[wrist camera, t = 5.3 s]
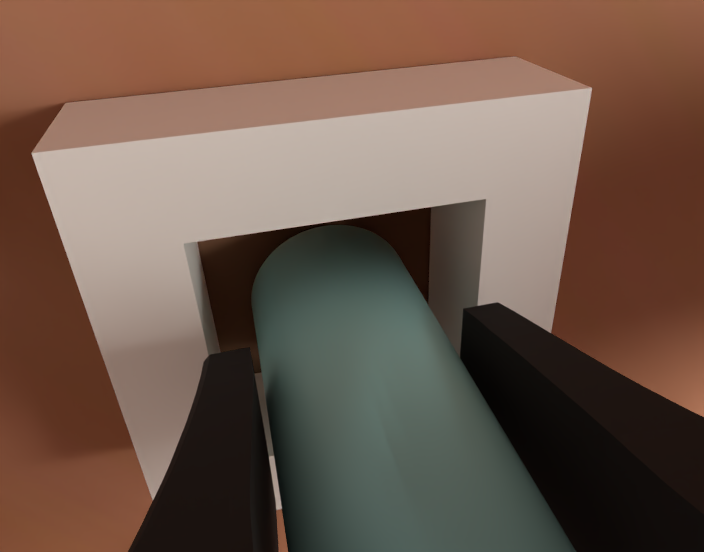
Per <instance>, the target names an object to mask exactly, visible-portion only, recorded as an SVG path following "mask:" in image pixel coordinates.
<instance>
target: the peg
mask: <svg viewBox="0 0 704 552" xmlns="http://www.w3.org/2000/svg"><path fill="white" fill-rule="evenodd" d="M251 304H252V311H253V318H254V324H255V331H256V338H257V345H258V351H259V358H260V365H261V371H262V378H263V385H264V392H265V398H266V405H267V412H268V418H269V425H270V432H271V439H272V445H273V452H274V459H275V465H276V472H277V479H278V486H279V492H280V499H281V506H282V512H283V519H284V526H285V533H286V539H287V546H288V552H576V551H575V549H574V547H573V546H572V544H571V542H570V541H569V539H568V537H567V536H566V534H565V532H564V531H563V529H562V527H561V526H560V524H559V522H558V521H557V519H556V517H555V516H554V514H553V512H552V511H551V509H550V507H549V506H548V504H547V502H546V501H545V499H544V497H543V496H542V494H541V492H540V491H539V489H538V487H537V486H536V484H535V482H534V481H533V479H532V477H531V476H530V474H529V472H528V471H527V469H526V467H525V466H524V464H523V462H522V461H521V459H520V457H519V456H518V454H517V452H516V451H515V449H514V447H513V446H512V444H511V442H510V441H509V439H508V437H507V436H506V434H505V432H504V431H503V429H502V427H501V426H500V424H499V422H498V421H497V419H496V417H495V416H494V414H493V412H492V411H491V409H490V407H489V406H488V404H487V402H486V401H485V399H484V397H483V396H482V394H481V392H480V391H479V389H478V387H477V386H476V384H475V382H474V380H473V379H472V377H471V375H470V374H469V372H468V370H467V369H466V367H465V365H464V364H463V362H462V360H461V359H460V357H459V355H458V354H457V352H456V350H455V349H454V347H453V345H452V344H451V342H450V340H449V339H448V337H447V335H446V334H445V332H444V330H443V329H442V327H441V325H440V324H439V322H438V320H437V319H436V317H435V315H434V314H433V312H432V310H431V309H430V307H429V305H428V304H427V302H426V300H425V299H424V297H423V295H422V294H421V292H420V290H419V289H418V287H417V285H416V284H415V282H414V280H413V279H412V277H411V275H410V274H409V272H408V270H407V269H406V267H405V265H404V264H403V262H402V260H401V259H400V257H399V255H398V254H397V253H396V251H395V250H394V248H393V247H392V246H391V245H390V244H389V243H388V242H387V241H386V240H384V239H383V238H382V237H380V236H379V235H377V234H375V233H373V232H371V231H369V230H366V229H363V228H360V227H355V226H349V225H327V226H320V227H316V228H313V229H309V230H306V231H304V232H301V233H299V234H297V235H295V236H293V237H291V238H289V239H288V240H287V241H285V242H284V243H282V244H281V245H280V246H278V247H277V248H276V249H275V250H274V251H273V252H272V253H271V254H270V255H269V256H268V258H267V259H266V260H265V261H264V263H263V264H262V266H261V267H260V269H259V271H258V273H257V275H256V278H255V281H254V284H253V288H252V295H251Z"/></svg>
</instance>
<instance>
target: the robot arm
mask: <svg viewBox="0 0 704 552" xmlns="http://www.w3.org/2000/svg"><path fill="white" fill-rule="evenodd" d="M460 359H461V360H462V362H463V364H464V365H465V367H466V369H467V370H468V372H469V374H470V375H471V377H472V379H473V380H474V382H475V384H476V386H477V387H478V389H479V391H480V392H481V394H482V396H483V397H484V399H485V401H486V402H487V404H488V406H489V407H490V409H491V411H492V412H493V414H494V416H495V417H496V419H497V421H498V422H499V424H500V426H501V427H502V429H503V431H504V432H505V434H506V436H507V437H508V439H509V441H510V442H511V444H512V446H513V447H514V449H515V451H516V452H517V454H518V456H519V457H520V459H521V461H522V462H523V464H524V466H525V467H526V469H527V471H528V472H529V474H530V476H531V477H532V479H533V481H534V482H535V484H536V486H537V487H538V489H539V491H540V492H541V494H542V496H543V497H544V499H545V501H546V502H547V504H548V506H549V507H550V509H551V511H552V512H553V514H554V516H555V517H556V519H557V521H558V522H559V524H560V526H561V527H562V529H563V531H564V532H565V534H566V536H567V537H568V539H569V541H570V542H571V544H572V546H573V547H574V549H575V551H576V552H704V417H702V416H700V415H698V414H696V413H694V412H692V411H690V410H688V409H686V408H684V407H682V406H680V405H678V404H676V403H674V402H672V401H670V400H668V399H666V398H664V397H663V396H661V395H659V394H657V393H655V392H653V391H651V390H649V389H647V388H645V387H643V386H641V385H640V384H638V383H636V382H634V381H632V380H630V379H629V378H627V377H625V376H623V375H621V374H620V373H618V372H616V371H614V370H613V369H611V368H609V367H607V366H605V365H604V364H602V363H600V362H599V361H597V360H595V359H593V358H592V357H590V356H588V355H587V354H585V353H583V352H581V351H580V350H578V349H576V348H575V347H573V346H571V345H570V344H568V343H566V342H565V341H563V340H561V339H560V338H558V337H556V336H555V335H553V334H551V333H550V332H548V331H546V330H545V329H543V328H541V327H540V326H538V325H537V324H535V323H533V322H532V321H530V320H528V319H527V318H525V317H523V316H521V315H520V314H518V313H516V312H515V311H513V310H511V309H509V308H508V307H506V306H504V305H502V304H500V303H498V302H496V303H491V304H485V305H480V306H474V307H469V308H463V318H462V333H461V348H460ZM128 552H278V534H277V516H276V500H275V494H274V487H273V481H272V474H271V468H270V462H269V455H268V449H267V442H266V436H265V431H264V425H263V419H262V414H261V408H260V402H259V397H258V391H257V385H256V380H255V374H254V368H253V363H252V357H251V351H250V347H248V348H243V349H237V350H232V351H226V352H221V353H215V354H210V355H209V356H208V357H207V358H206V359H205V361H204V362H203V367H202V372H201V376H200V380H199V384H198V388H197V391H196V394H195V398H194V401H193V404H192V407H191V410H190V413H189V416H188V418H187V421H186V424H185V427H184V429H183V432H182V434H181V437H180V439H179V442H178V444H177V447H176V450H175V452H174V455H173V457H172V460H171V462H170V465H169V467H168V469H167V472H166V474H165V476H164V478H163V481H162V483H161V485H160V487H159V489H158V491H157V493H156V495H155V498H154V500H153V502H152V504H151V506H150V508H149V510H148V513H147V515H146V517H145V519H144V521H143V523H142V525H141V527H140V529H139V531H138V533H137V535H136V537H135V539H134V541H133V543H132V545H131V547H130V549H129V551H128Z"/></svg>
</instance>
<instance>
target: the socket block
mask: <svg viewBox="0 0 704 552" xmlns="http://www.w3.org/2000/svg"><path fill="white" fill-rule="evenodd" d="M591 92H592V88H591V87H589V86H587V85H584V84H582V83H579V82H577V81H574V80H572V79H570V78H567V77H565V76H562V75H560V74H557V73H555V72H553V71H550V70H548V69H545V68H543V67H540V66H538V65H536V64H533V63H531V62H528V61H526V60H523V59H521V58H519V57H516V56H514V57H504V58H495V59H485V60H475V61H466V62H456V63H446V64H437V65H427V66H417V67H408V68H398V69H388V70H379V71H369V72H359V73H350V74H340V75H330V76H321V77H311V78H301V79H292V80H282V81H272V82H262V83H253V84H243V85H233V86H224V87H214V88H204V89H195V90H185V91H175V92H166V93H156V94H146V95H137V96H127V97H117V98H108V99H98V100H88V101H79V102H69V103H65V104H64V106H63V107H62V109H61V110H60V112H59V113H58V115H57V116H56V117H55V119H54V120H53V122H52V123H51V125H50V126H49V128H48V129H47V131H46V132H45V134H44V135H43V137H42V138H41V140H40V141H39V142H38V144H37V145H36V147H35V148H34V150H33V151H32V153H31V154H32V157H33V159H34V162H35V165H36V168H37V171H38V174H39V177H40V180H41V182H42V185H43V188H44V191H45V194H46V197H47V200H48V202H49V205H50V208H51V211H52V214H53V217H54V220H55V222H56V225H57V228H58V231H59V234H60V237H61V240H62V242H63V245H64V248H65V251H66V254H67V257H68V260H69V262H70V265H71V268H72V271H73V274H74V277H75V280H76V283H77V285H78V288H79V291H80V294H81V297H82V300H83V303H84V305H85V308H86V311H87V314H88V317H89V320H90V323H91V325H92V328H93V331H94V334H95V337H96V340H97V343H98V345H99V348H100V351H101V354H102V357H103V360H104V363H105V365H106V368H107V371H108V374H109V377H110V380H111V383H112V385H113V388H114V391H115V394H116V397H117V400H118V403H119V406H120V408H121V411H122V414H123V417H124V420H125V423H126V426H127V428H128V431H129V434H130V437H131V440H132V443H133V446H134V448H135V451H136V454H137V457H138V460H139V463H140V466H141V468H142V471H143V474H144V477H145V480H146V483H147V486H148V488H149V491H150V494H151V497H152V500H154V498H155V495H156V493H157V491H158V489H159V487H160V485H161V483H162V481H163V478H164V476H165V474H166V472H167V469H168V467H169V465H170V462H171V460H172V457H173V455H174V452H175V450H176V447H177V444H178V442H179V439H180V437H181V434H182V432H183V429H184V427H185V424H186V421H187V418H188V416H189V413H190V410H191V407H192V404H193V401H194V398H195V394H196V391H197V388H198V384H199V380H200V376H201V372H202V367H203V362H204V361H205V359H206V358H207V357H208V356H209V355H210V354H215V353H221V352H220V348H219V343H218V338H217V333H216V329H215V324H214V319H213V314H212V310H211V305H210V300H209V295H208V291H207V286H206V281H205V276H204V272H203V267H202V262H201V258H200V253H199V248H198V243H197V242H198V241H205V240H211V239H218V238H225V237H232V236H239V235H245V234H252V233H259V232H266V231H272V230H279V229H286V228H293V227H299V226H306V225H313V224H320V223H326V222H333V221H340V220H347V219H353V218H360V217H367V216H374V215H380V214H387V213H394V212H401V211H408V210H414V209H421V208H428V207H431V228H430V264H429V300H428V305H429V307H430V309H431V310H432V312H433V314H434V315H435V317H436V319H437V320H438V322H439V324H440V325H441V327H442V329H443V330H444V332H445V334H446V335H447V337H448V339H449V340H450V342H451V344H452V345H453V347H454V349H455V350H456V352H457V354H458V355H459V357H460V348H461V333H462V318H463V308H469V307H474V306H480V305H485V304H491V303H496V302H498V303H500V304H502V305H504V306H506V307H508V308H509V309H511V310H513V311H515V312H516V313H518V314H520V315H521V316H523V317H525V318H527V319H528V320H530V321H532V322H533V323H535V324H537V325H538V326H540V327H541V328H543V329H545V330H546V331H548V332H550V333H551V330H552V324H553V319H554V313H555V307H556V301H557V295H558V289H559V283H560V277H561V271H562V265H563V259H564V253H565V247H566V241H567V235H568V229H569V223H570V217H571V211H572V205H573V199H574V193H575V187H576V181H577V175H578V169H579V163H580V158H581V152H582V146H583V140H584V134H585V128H586V122H587V116H588V110H589V104H590V98H591ZM255 380H256V385H257V391H258V397H259V402H260V408H261V414H262V419H263V425H264V431H265V436H266V442H267V449H268V455H269V462H270V468H271V474H272V481H273V487H274V494H275V500H276V510H278V509H282V506H281V499H280V492H279V486H278V479H277V472H276V465H275V459H274V452H273V445H272V439H271V432H270V425H269V418H268V412H267V405H266V398H265V392H264V385H263V378H262V372H261V373H256V374H255Z"/></svg>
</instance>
